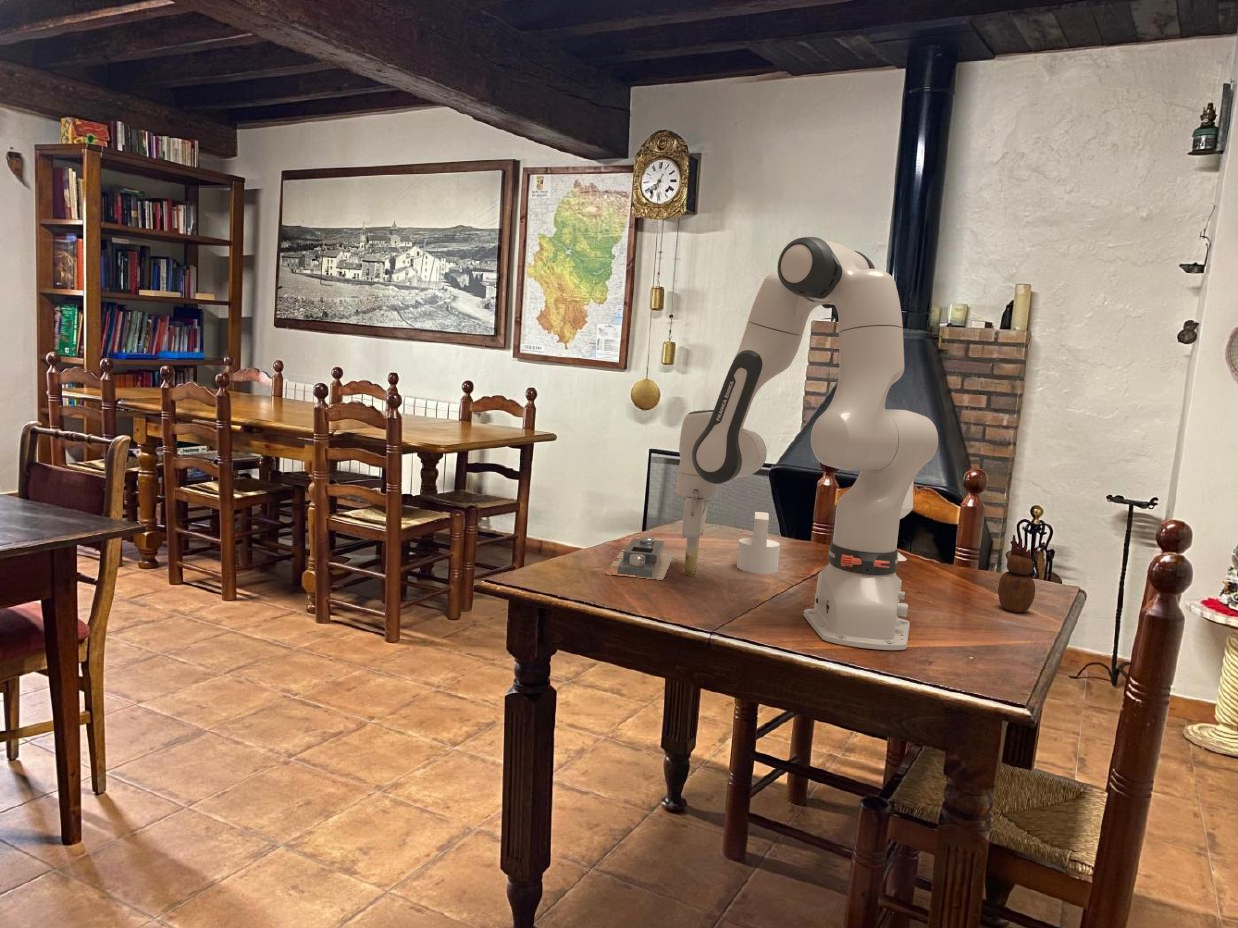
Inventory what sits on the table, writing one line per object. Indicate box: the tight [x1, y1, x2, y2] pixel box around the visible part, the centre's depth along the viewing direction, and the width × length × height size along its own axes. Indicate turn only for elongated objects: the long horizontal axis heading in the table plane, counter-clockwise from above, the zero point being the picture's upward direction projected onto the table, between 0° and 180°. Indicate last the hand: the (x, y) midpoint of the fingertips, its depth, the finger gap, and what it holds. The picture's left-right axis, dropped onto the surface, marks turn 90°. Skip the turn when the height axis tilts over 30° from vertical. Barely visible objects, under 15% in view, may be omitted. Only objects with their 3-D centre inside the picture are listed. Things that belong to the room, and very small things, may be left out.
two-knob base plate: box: [610, 535, 675, 581], centre depth 195 cm, size 23×12×4 cm, turn 171°
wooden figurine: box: [997, 534, 1036, 613], centre depth 178 cm, size 7×6×15 cm
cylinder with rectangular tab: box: [736, 511, 781, 575], centre depth 199 cm, size 9×9×12 cm
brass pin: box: [683, 528, 704, 577], centre depth 189 cm, size 4×4×10 cm
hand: (692, 551), depth 189 cm, fingers closed on brass pin, 3 cm apart
